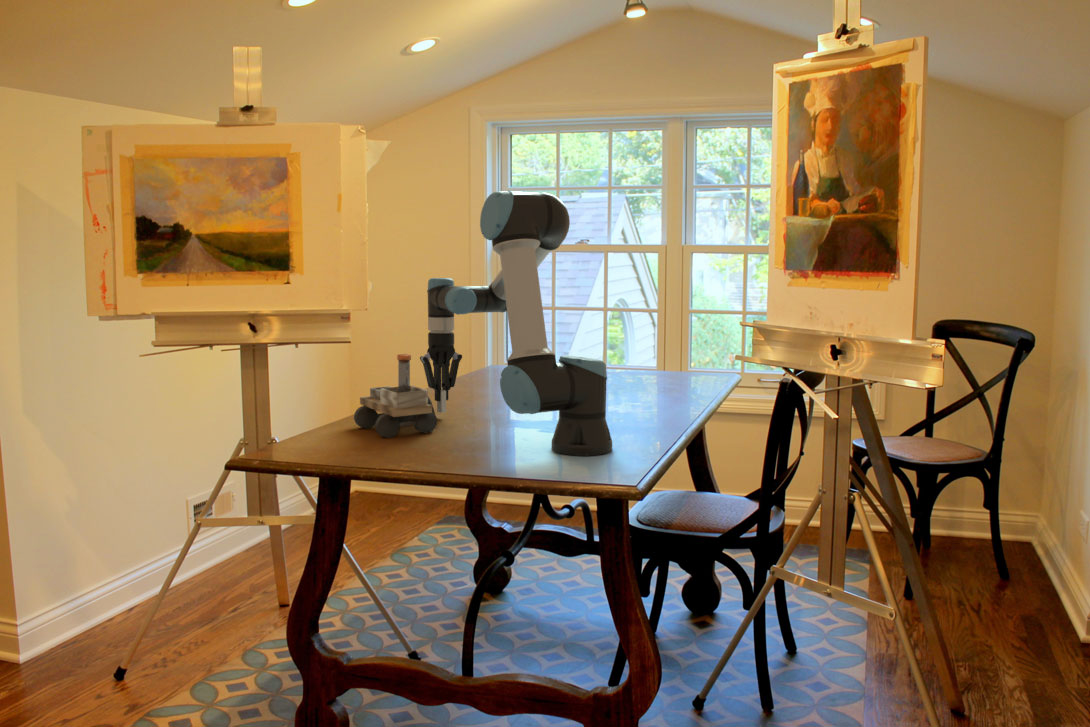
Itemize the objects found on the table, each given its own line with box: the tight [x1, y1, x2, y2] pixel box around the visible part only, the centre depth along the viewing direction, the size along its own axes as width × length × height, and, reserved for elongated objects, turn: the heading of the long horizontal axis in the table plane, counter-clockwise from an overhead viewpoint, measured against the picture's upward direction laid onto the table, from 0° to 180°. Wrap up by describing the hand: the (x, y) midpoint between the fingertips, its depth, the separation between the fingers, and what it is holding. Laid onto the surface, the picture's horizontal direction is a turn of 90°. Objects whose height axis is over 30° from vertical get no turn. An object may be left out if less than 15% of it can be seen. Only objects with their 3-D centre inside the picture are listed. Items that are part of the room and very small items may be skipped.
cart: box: [353, 385, 438, 439], centre depth 239 cm, size 22×17×12 cm
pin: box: [396, 353, 412, 393], centre depth 233 cm, size 4×4×13 cm
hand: (441, 411), depth 256 cm, fingers closed
